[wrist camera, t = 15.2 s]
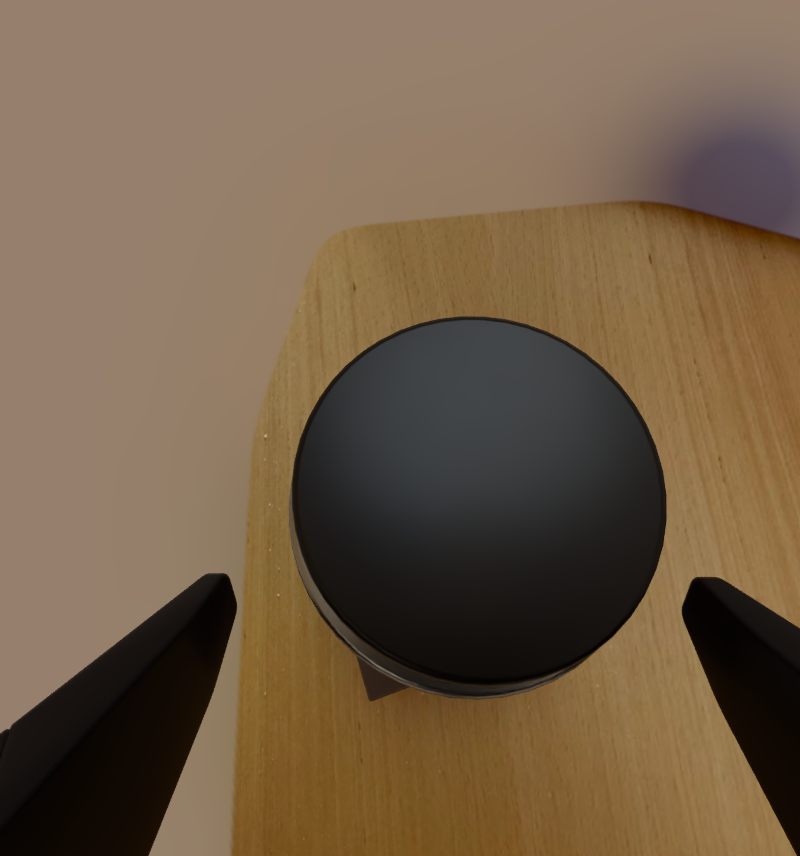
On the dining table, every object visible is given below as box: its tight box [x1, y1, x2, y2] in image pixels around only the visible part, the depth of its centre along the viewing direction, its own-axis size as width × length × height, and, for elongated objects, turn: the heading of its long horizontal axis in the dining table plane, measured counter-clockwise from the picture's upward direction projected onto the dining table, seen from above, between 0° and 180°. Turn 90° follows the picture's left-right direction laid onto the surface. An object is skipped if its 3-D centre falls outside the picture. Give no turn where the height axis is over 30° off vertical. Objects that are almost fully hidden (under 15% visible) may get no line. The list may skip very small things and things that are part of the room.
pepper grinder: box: [289, 317, 666, 700], centre depth 10 cm, size 4×4×12 cm
